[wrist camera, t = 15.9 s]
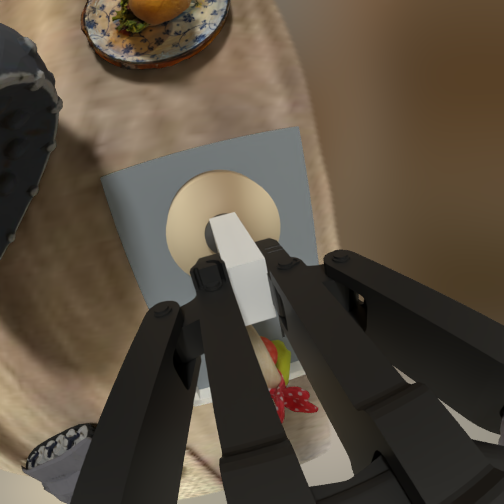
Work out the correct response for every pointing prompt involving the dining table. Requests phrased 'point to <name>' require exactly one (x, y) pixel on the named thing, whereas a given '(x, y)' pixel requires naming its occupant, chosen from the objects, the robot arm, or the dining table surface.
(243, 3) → the dining table surface
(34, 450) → the toy tank
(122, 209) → the board
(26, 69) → the dotted grey bowl
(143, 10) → the burger
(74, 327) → the dining table surface
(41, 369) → the dining table surface
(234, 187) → the wheel
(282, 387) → the bird rattle
